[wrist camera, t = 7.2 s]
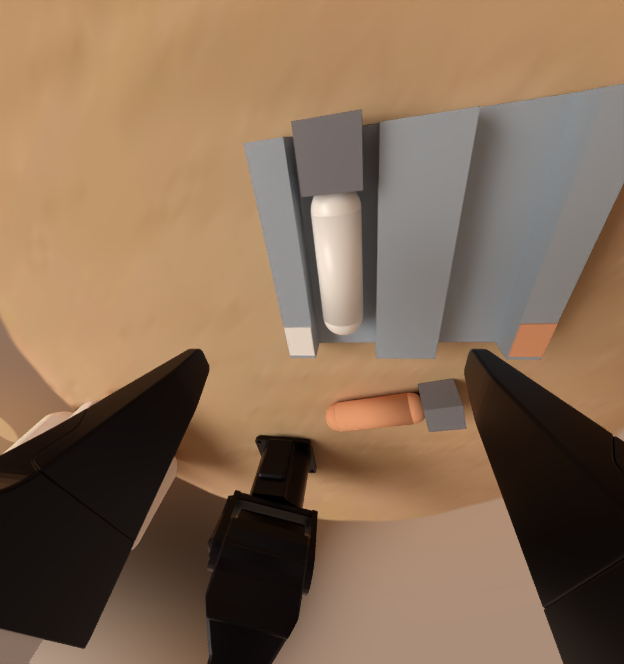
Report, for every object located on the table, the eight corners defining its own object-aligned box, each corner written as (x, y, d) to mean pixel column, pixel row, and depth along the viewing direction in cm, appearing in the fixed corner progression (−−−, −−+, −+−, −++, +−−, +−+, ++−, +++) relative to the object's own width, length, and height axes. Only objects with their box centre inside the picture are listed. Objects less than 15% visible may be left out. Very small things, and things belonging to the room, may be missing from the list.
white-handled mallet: (365, 320, 19) (365, 345, 17) (325, 321, 20) (321, 345, 18) (362, 113, 13) (361, 109, 10) (303, 123, 13) (291, 121, 11)
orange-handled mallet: (332, 416, 28) (330, 441, 25) (323, 398, 26) (319, 422, 24) (456, 401, 24) (466, 428, 22) (453, 378, 22) (463, 405, 20)
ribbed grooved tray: (519, 332, 19) (541, 360, 17) (297, 335, 22) (290, 358, 20) (614, 86, 12) (676, 75, 9) (261, 141, 15) (242, 143, 12)
